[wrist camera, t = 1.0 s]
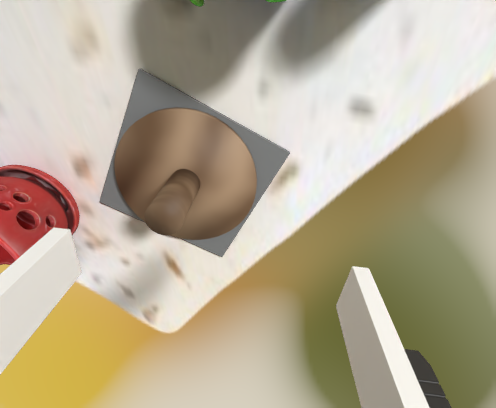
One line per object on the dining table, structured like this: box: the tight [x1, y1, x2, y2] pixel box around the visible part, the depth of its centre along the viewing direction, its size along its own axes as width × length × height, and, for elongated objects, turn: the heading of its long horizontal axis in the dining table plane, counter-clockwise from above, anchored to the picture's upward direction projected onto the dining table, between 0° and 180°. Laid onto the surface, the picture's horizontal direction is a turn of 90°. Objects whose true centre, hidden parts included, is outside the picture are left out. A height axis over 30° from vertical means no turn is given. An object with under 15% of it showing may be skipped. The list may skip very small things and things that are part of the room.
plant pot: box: [0, 165, 79, 265], centre depth 33 cm, size 13×13×12 cm
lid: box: [114, 107, 257, 240], centre depth 30 cm, size 17×17×9 cm
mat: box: [100, 69, 290, 257], centre depth 34 cm, size 18×18×1 cm
